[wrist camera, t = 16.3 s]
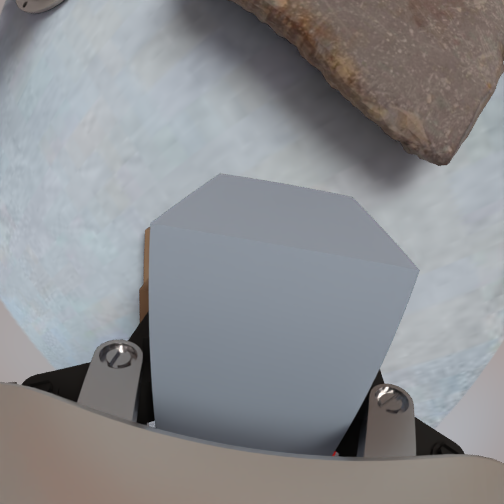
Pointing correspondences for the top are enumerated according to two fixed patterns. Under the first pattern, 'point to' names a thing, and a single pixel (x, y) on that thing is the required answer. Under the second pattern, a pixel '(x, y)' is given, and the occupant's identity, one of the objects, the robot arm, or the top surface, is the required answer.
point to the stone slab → (401, 61)
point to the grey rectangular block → (270, 313)
